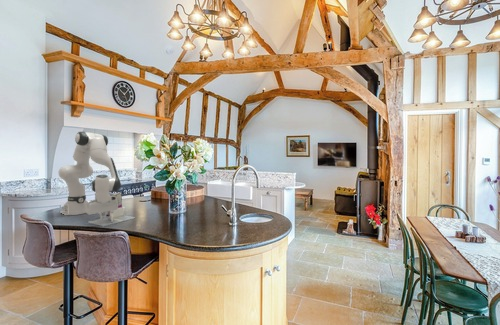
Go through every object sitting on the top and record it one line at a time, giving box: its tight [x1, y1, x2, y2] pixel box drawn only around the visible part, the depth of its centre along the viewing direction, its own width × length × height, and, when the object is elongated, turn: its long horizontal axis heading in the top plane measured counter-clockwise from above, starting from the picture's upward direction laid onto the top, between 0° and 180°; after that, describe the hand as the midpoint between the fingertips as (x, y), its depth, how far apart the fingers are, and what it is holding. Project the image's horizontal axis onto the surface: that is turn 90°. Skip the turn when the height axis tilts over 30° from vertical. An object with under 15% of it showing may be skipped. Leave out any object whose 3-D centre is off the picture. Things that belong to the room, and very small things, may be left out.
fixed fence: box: [112, 205, 126, 217], centre depth 195 cm, size 2×12×7 cm, turn 150°
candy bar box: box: [106, 192, 123, 216], centre depth 207 cm, size 11×5×16 cm, turn 146°
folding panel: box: [109, 210, 113, 222], centre depth 185 cm, size 2×12×6 cm, turn 31°
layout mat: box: [87, 215, 136, 227], centre depth 188 cm, size 19×25×1 cm
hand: (102, 218), depth 177 cm, fingers closed
